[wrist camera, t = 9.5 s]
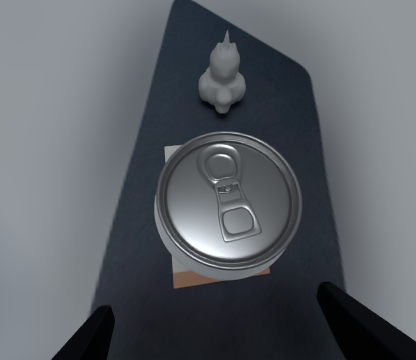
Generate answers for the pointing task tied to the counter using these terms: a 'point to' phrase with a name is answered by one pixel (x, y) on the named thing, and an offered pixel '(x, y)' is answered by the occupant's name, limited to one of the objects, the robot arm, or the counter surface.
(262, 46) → the counter surface
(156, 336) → the counter surface
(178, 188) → the can
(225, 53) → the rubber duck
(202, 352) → the counter surface
